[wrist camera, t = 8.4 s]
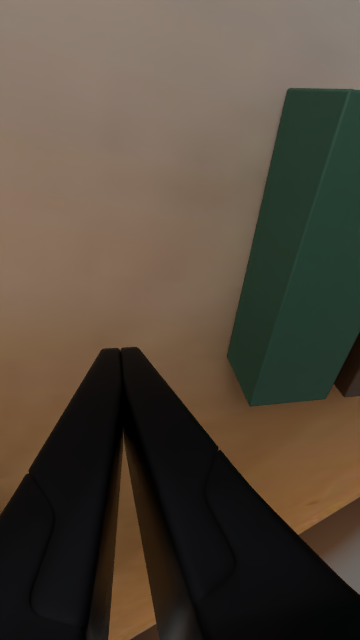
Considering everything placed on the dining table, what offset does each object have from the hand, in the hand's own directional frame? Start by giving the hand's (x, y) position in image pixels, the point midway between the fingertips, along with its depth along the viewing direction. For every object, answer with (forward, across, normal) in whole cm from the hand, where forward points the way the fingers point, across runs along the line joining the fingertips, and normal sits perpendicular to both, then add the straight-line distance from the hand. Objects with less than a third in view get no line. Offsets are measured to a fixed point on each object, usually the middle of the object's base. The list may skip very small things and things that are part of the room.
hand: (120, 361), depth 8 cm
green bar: (+7, -8, 0) cm, 10 cm away
